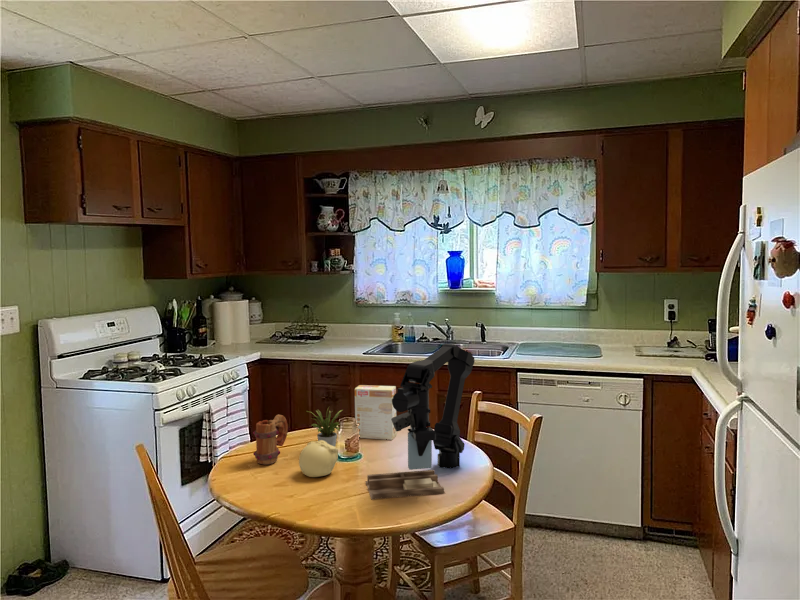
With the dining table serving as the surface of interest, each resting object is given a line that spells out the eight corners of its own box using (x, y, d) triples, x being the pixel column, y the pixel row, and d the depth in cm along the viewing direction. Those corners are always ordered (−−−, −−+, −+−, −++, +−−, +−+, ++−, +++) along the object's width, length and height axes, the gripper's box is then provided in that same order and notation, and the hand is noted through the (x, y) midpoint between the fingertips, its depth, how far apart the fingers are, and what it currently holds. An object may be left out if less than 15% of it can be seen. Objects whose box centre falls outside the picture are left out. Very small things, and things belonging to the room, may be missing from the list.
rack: (434, 478, 193) (434, 468, 193) (445, 496, 179) (445, 484, 179) (365, 484, 189) (365, 473, 189) (371, 502, 176) (371, 490, 175)
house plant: (300, 458, 213) (298, 412, 212) (307, 445, 227) (306, 402, 225) (340, 458, 212) (339, 412, 211) (346, 445, 226) (345, 402, 225)
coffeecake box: (397, 434, 239) (396, 385, 237) (392, 440, 232) (392, 390, 230) (360, 432, 242) (359, 384, 241) (355, 438, 235) (354, 388, 234)
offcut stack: (435, 485, 185) (435, 477, 185) (438, 490, 181) (438, 482, 181) (403, 487, 184) (402, 480, 183) (405, 493, 179) (405, 485, 179)
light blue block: (430, 465, 189) (430, 431, 188) (431, 468, 187) (431, 432, 186) (408, 467, 188) (407, 432, 187) (409, 469, 186) (409, 434, 185)
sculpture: (343, 471, 200) (342, 439, 199) (319, 483, 190) (318, 449, 189) (317, 465, 207) (316, 433, 206) (292, 476, 197) (291, 443, 196)
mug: (265, 469, 203) (264, 424, 202) (248, 464, 208) (246, 421, 206) (295, 456, 216) (294, 414, 214) (278, 452, 220) (277, 411, 219)
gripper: (388, 398, 194) (388, 446, 195) (398, 414, 175) (399, 467, 177) (422, 396, 196) (423, 444, 197) (436, 412, 177) (436, 464, 179)
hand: (419, 454), depth 187 cm, fingers closed on light blue block, 2 cm apart
